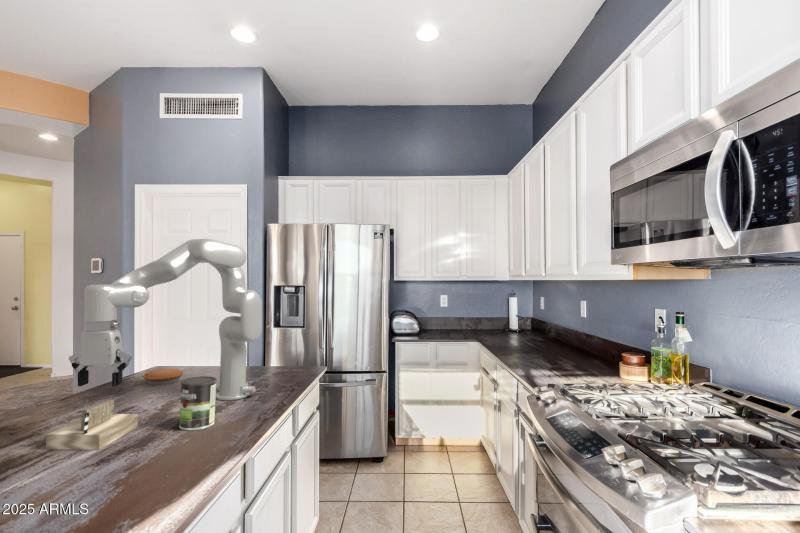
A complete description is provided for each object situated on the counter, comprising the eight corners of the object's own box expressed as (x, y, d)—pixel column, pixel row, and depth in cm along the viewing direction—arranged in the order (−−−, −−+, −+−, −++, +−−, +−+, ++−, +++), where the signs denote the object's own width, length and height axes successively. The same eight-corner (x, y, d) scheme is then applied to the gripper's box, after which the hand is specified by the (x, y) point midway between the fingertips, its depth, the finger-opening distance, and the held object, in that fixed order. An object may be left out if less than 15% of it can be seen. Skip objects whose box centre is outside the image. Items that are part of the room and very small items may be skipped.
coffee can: (195, 433, 118) (197, 386, 118) (171, 427, 121) (173, 382, 122) (222, 421, 127) (224, 378, 128) (199, 416, 131) (200, 374, 131)
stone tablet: (85, 413, 105) (119, 399, 117) (72, 412, 105) (107, 398, 117) (83, 435, 105) (117, 419, 117) (70, 433, 105) (105, 418, 117)
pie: (178, 376, 183) (178, 365, 183) (187, 383, 172) (187, 371, 172) (139, 381, 173) (139, 369, 173) (145, 389, 161) (146, 376, 161)
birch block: (137, 427, 121) (137, 414, 121) (98, 449, 105) (99, 434, 105) (91, 426, 120) (92, 413, 121) (45, 449, 104) (46, 434, 105)
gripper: (138, 324, 118) (138, 381, 118) (80, 324, 117) (80, 381, 117) (121, 328, 110) (121, 389, 110) (59, 328, 110) (58, 389, 110)
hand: (100, 385), depth 114 cm, fingers open, 9 cm apart
